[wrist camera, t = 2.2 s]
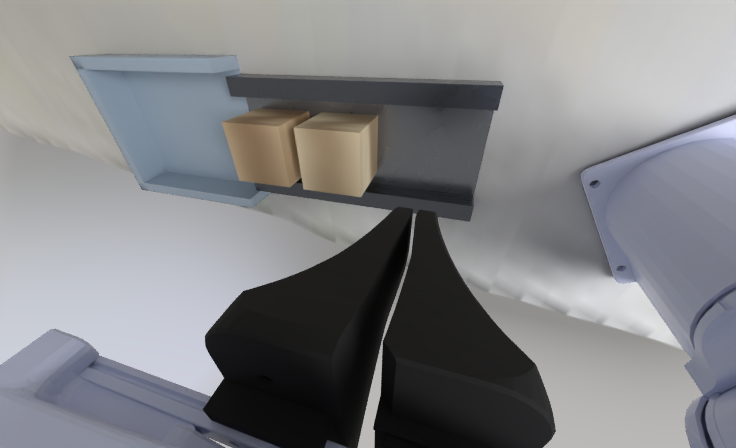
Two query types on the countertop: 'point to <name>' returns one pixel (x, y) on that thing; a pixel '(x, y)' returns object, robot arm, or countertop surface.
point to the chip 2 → (338, 152)
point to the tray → (172, 121)
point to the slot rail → (395, 133)
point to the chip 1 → (265, 145)
